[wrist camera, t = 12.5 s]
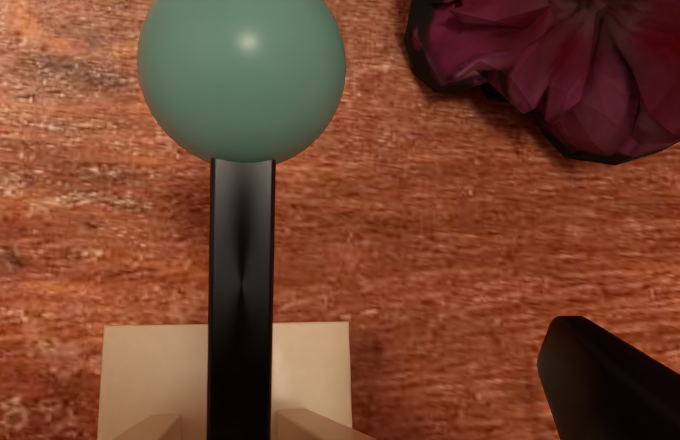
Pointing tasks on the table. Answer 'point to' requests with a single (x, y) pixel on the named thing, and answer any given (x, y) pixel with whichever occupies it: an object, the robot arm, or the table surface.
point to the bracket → (191, 382)
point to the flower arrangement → (561, 66)
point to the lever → (241, 161)
